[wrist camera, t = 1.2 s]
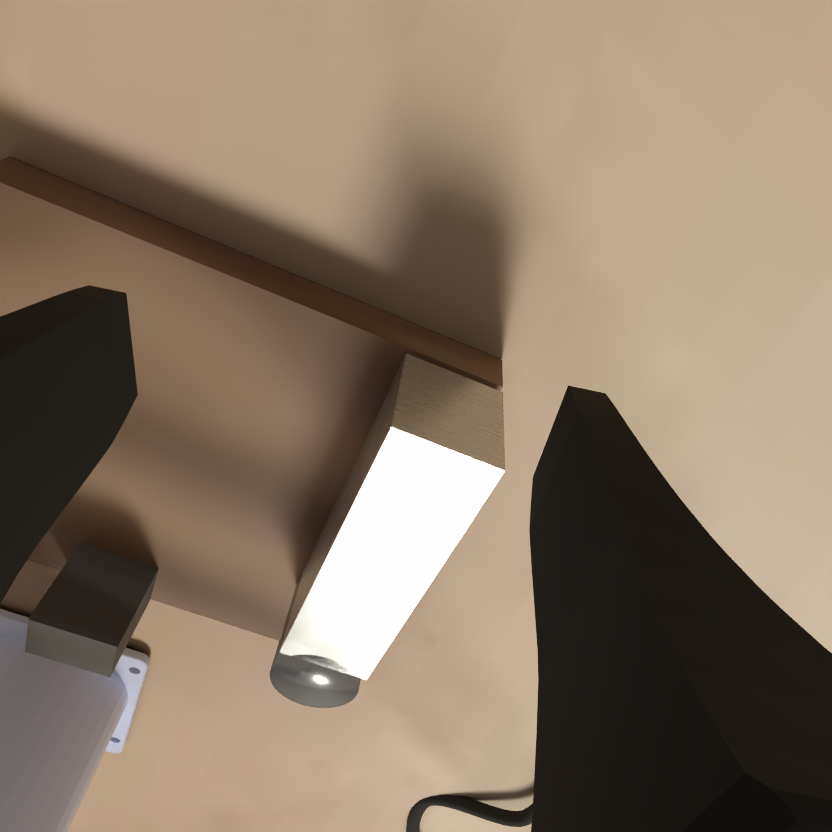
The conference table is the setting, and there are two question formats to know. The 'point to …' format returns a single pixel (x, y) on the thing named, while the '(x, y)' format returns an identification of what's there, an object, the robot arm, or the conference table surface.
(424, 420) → the folding leg
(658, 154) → the conference table surface
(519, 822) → the cable
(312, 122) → the conference table surface
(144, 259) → the stool seat
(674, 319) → the conference table surface
